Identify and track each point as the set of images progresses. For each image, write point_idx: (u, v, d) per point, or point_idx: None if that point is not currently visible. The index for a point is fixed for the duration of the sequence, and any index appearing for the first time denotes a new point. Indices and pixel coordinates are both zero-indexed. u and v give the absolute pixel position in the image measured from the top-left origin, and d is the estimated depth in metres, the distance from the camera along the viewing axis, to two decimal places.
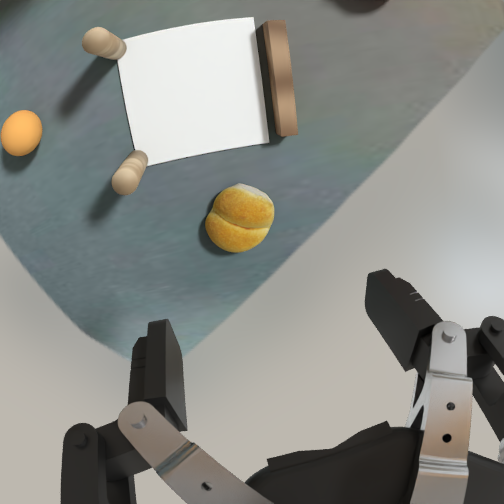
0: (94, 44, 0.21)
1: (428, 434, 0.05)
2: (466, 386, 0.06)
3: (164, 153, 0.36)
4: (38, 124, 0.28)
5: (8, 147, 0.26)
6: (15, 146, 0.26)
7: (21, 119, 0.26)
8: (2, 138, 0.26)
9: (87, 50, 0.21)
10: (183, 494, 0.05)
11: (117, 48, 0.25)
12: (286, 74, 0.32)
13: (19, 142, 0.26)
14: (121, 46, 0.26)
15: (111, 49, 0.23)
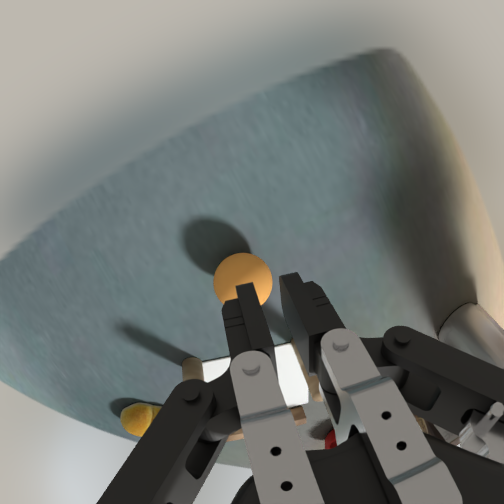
0: (320, 395, 0.32)
1: (381, 453, 0.05)
2: (390, 388, 0.07)
3: None
4: None
5: (234, 291, 0.28)
6: None
7: None
8: (248, 282, 0.28)
9: (317, 392, 0.32)
10: (251, 448, 0.06)
11: None
12: None
13: None
14: None
15: None
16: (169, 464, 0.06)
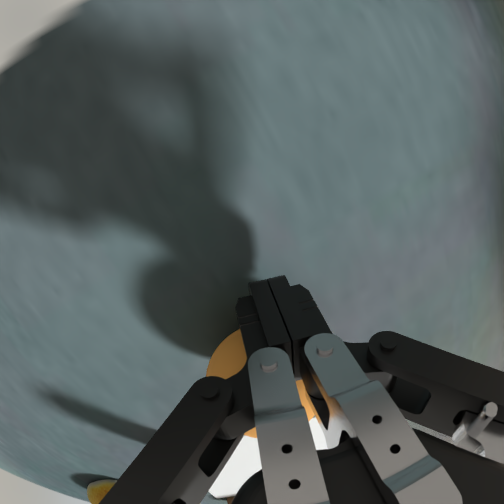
0: None
1: (375, 457, 0.05)
2: (378, 392, 0.07)
3: None
4: None
5: (254, 437, 0.12)
6: None
7: None
8: None
9: None
10: (262, 444, 0.06)
11: None
12: None
13: None
14: None
15: None
16: (182, 460, 0.06)
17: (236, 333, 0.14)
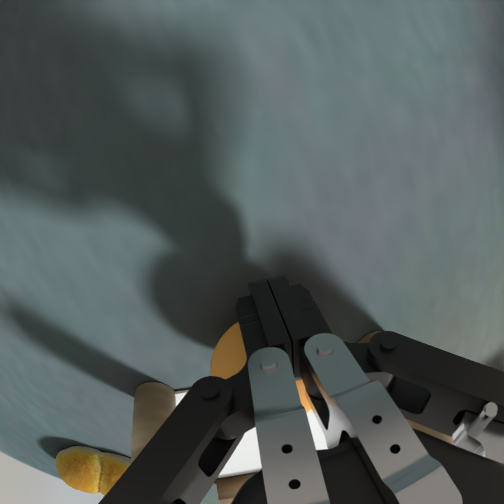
0: None
1: (375, 458, 0.05)
2: (379, 392, 0.07)
3: None
4: None
5: None
6: None
7: None
8: None
9: None
10: (262, 444, 0.06)
11: None
12: None
13: None
14: None
15: None
16: (182, 461, 0.06)
17: None
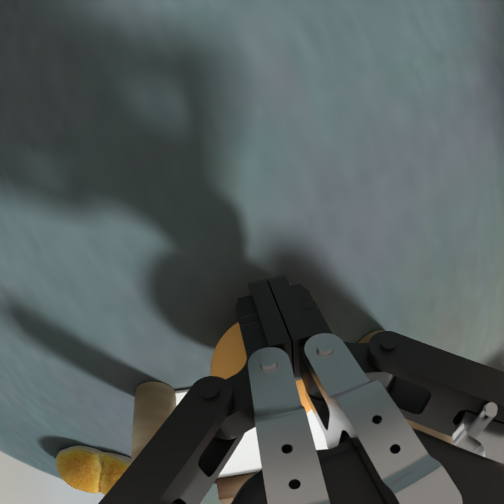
0: None
1: (375, 457, 0.05)
2: (379, 392, 0.07)
3: None
4: None
5: None
6: None
7: None
8: None
9: None
10: (262, 444, 0.06)
11: None
12: None
13: None
14: None
15: None
16: (182, 461, 0.06)
17: None
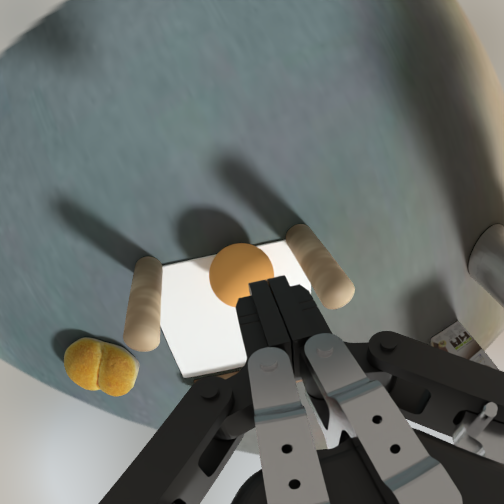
0: (333, 294, 0.22)
1: (375, 457, 0.05)
2: (379, 392, 0.07)
3: None
4: (241, 255, 0.25)
5: None
6: None
7: (246, 243, 0.27)
8: None
9: (329, 287, 0.22)
10: (262, 444, 0.06)
11: None
12: None
13: None
14: None
15: None
16: (182, 461, 0.06)
17: None
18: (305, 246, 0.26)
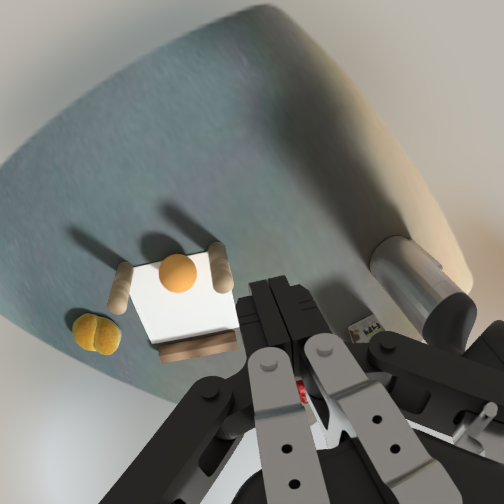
0: (219, 284, 0.39)
1: (375, 457, 0.05)
2: (379, 392, 0.07)
3: (132, 287, 0.47)
4: (174, 261, 0.43)
5: None
6: None
7: (180, 254, 0.45)
8: None
9: (216, 280, 0.39)
10: (262, 444, 0.06)
11: None
12: (200, 354, 0.54)
13: None
14: None
15: None
16: (182, 461, 0.06)
17: (180, 292, 0.44)
18: (213, 256, 0.43)
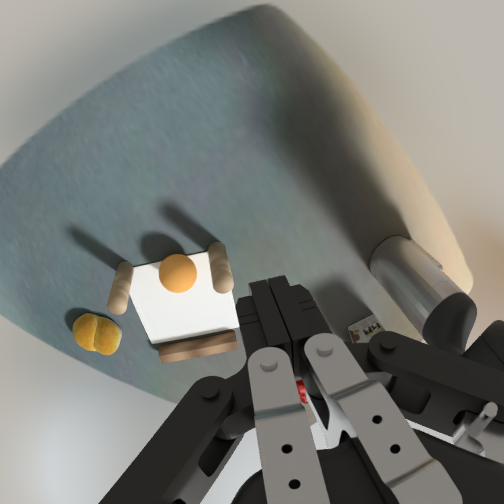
0: (219, 284, 0.39)
1: (375, 457, 0.05)
2: (379, 392, 0.07)
3: (132, 287, 0.47)
4: (174, 261, 0.43)
5: None
6: None
7: (180, 254, 0.45)
8: None
9: (216, 280, 0.39)
10: (262, 444, 0.06)
11: None
12: (200, 354, 0.54)
13: None
14: None
15: None
16: (182, 461, 0.06)
17: (180, 292, 0.44)
18: (213, 256, 0.43)
